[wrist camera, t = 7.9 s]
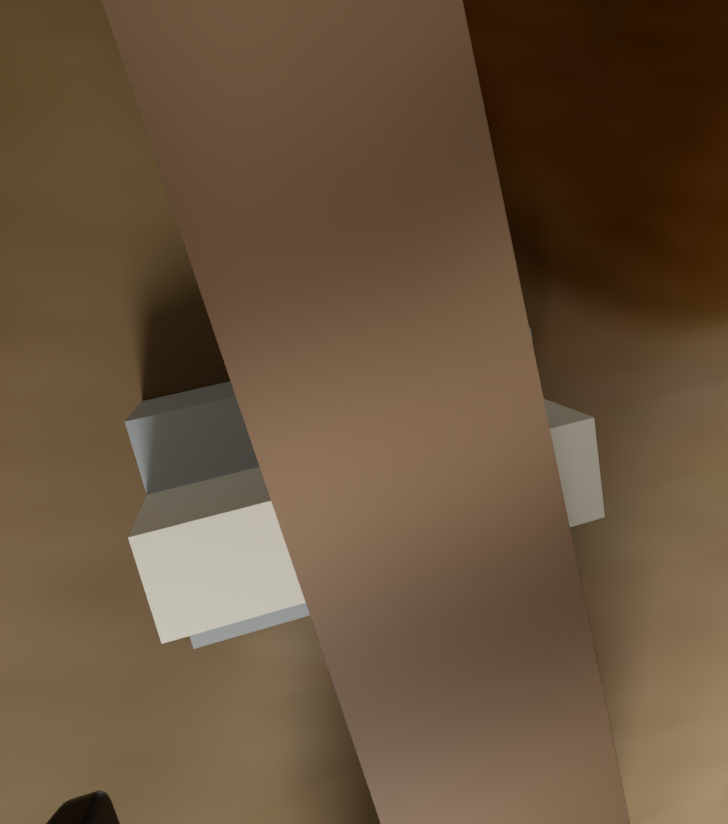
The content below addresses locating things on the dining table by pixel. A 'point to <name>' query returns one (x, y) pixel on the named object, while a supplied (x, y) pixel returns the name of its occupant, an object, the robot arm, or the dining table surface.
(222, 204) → the walnut bar
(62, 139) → the dining table surface
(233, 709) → the dining table surface
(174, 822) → the dining table surface
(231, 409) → the ridge stand
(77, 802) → the robot arm
